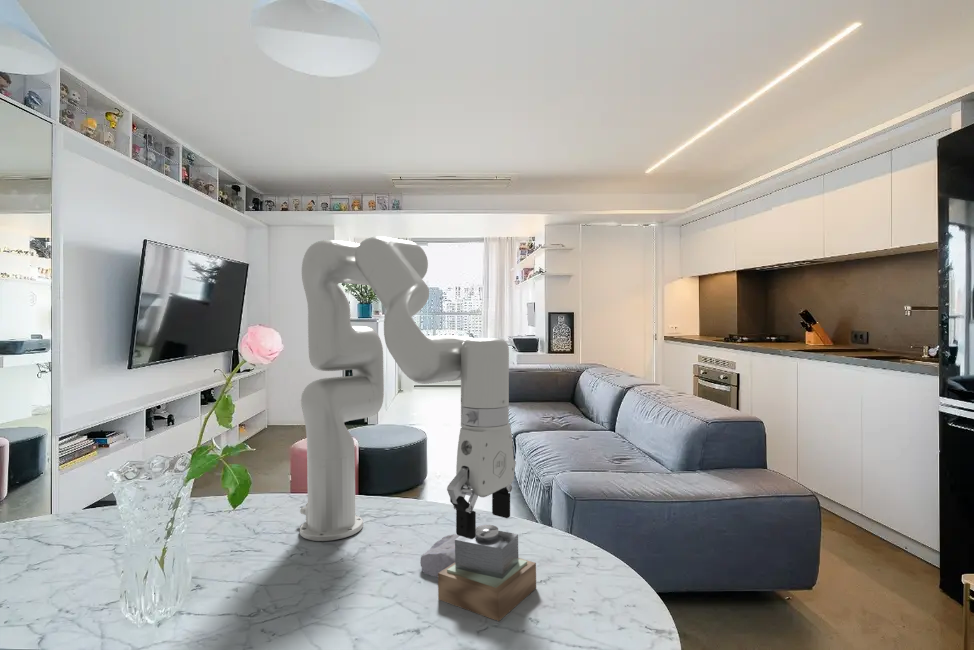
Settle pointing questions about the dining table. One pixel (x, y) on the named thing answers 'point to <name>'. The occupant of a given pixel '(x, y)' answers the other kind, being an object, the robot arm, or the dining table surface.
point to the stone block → (439, 556)
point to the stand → (487, 589)
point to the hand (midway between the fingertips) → (484, 525)
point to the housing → (487, 552)
